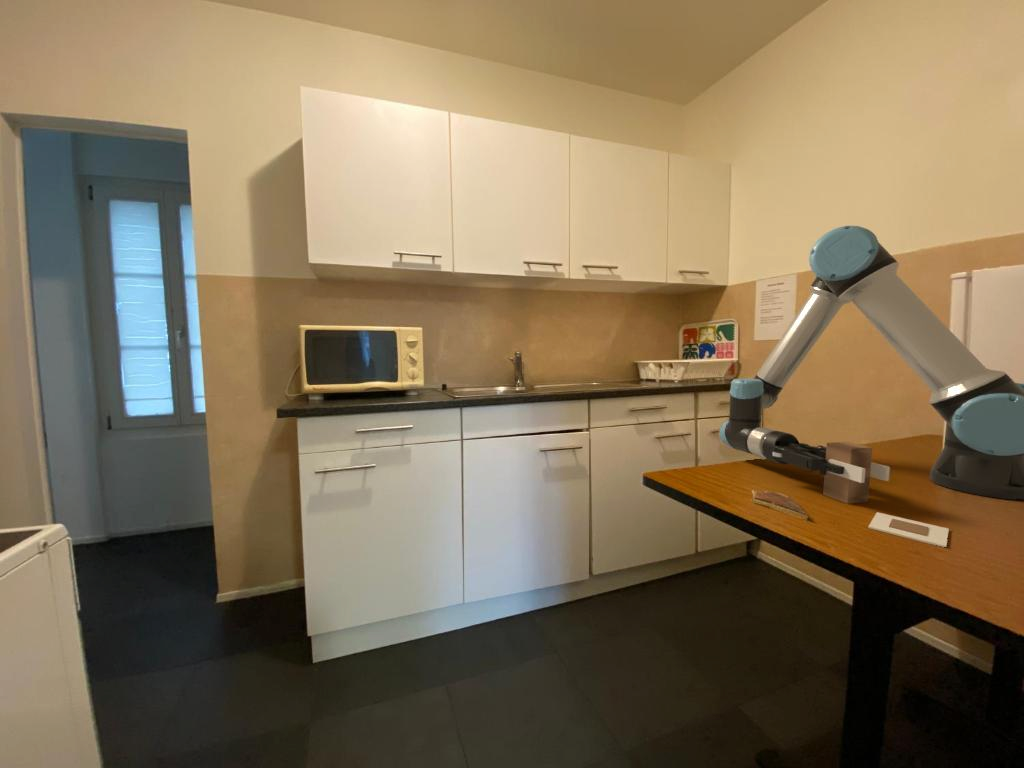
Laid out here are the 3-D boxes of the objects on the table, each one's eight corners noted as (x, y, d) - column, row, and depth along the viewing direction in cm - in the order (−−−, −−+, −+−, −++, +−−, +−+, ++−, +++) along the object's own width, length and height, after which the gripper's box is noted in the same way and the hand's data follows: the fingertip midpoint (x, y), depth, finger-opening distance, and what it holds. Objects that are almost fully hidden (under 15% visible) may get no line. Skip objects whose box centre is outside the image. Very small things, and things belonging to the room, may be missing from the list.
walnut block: (842, 492, 85) (846, 441, 84) (867, 501, 80) (872, 447, 79) (823, 494, 84) (826, 442, 83) (847, 503, 79) (851, 448, 78)
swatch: (948, 530, 67) (948, 527, 67) (946, 547, 61) (946, 544, 61) (876, 513, 74) (876, 511, 74) (868, 528, 68) (868, 525, 68)
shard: (808, 524, 71) (809, 514, 71) (759, 518, 73) (759, 508, 73) (789, 501, 81) (789, 493, 81) (746, 497, 84) (746, 488, 83)
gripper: (803, 458, 101) (911, 490, 78) (740, 462, 97) (834, 497, 75) (805, 429, 100) (915, 453, 77) (742, 432, 97) (837, 457, 74)
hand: (875, 474), depth 76 cm, fingers closed on walnut block, 5 cm apart
